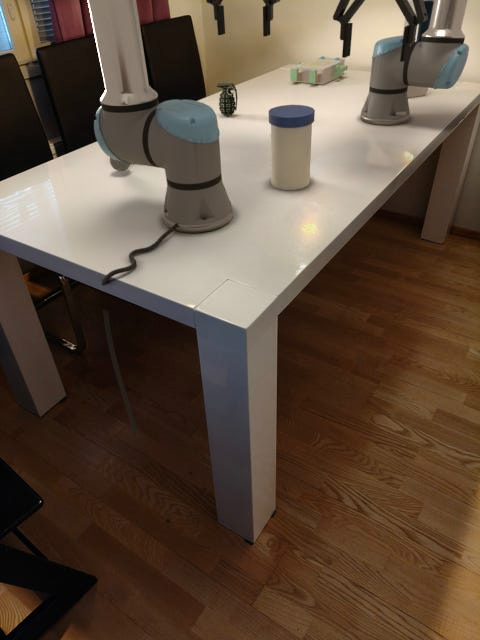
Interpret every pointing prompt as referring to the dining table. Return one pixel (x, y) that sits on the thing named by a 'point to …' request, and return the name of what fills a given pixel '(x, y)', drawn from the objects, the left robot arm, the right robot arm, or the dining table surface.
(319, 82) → the decorative block
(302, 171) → the jar
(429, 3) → the electronic device
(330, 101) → the dining table surface
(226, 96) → the grenade
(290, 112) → the lid
